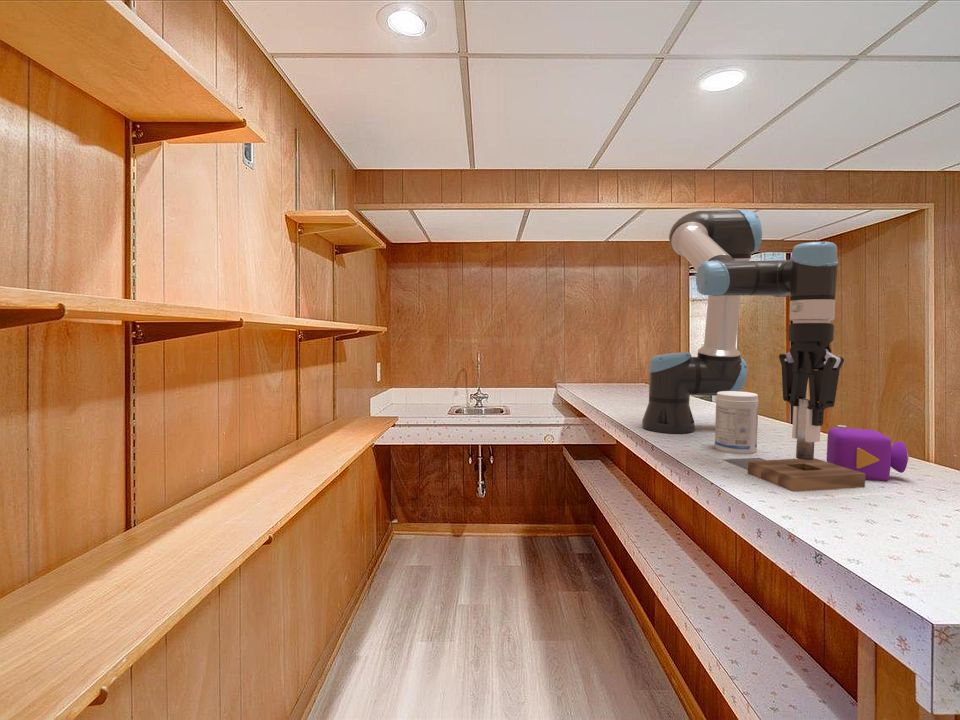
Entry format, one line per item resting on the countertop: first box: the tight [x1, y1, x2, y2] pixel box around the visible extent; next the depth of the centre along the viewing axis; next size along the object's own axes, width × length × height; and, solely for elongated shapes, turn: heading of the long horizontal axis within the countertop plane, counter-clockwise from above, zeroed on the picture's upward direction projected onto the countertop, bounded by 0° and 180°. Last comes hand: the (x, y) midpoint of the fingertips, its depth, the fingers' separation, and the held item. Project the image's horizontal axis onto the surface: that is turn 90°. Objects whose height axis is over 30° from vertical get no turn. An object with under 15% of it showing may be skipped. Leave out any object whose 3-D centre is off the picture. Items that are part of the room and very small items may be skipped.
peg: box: [795, 397, 815, 460], centre depth 101 cm, size 3×3×12 cm
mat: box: [721, 457, 766, 471], centre depth 112 cm, size 12×10×1 cm
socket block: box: [747, 457, 866, 493], centre depth 102 cm, size 12×16×3 cm
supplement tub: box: [714, 391, 759, 455], centre depth 127 cm, size 10×10×15 cm
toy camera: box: [826, 424, 910, 482], centre depth 106 cm, size 11×14×10 cm
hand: (805, 439), depth 101 cm, fingers closed on peg, 2 cm apart
